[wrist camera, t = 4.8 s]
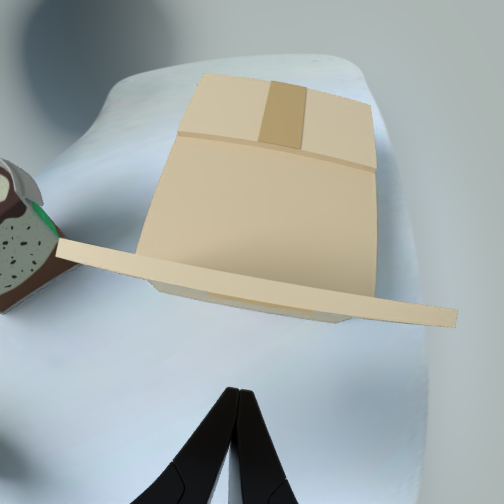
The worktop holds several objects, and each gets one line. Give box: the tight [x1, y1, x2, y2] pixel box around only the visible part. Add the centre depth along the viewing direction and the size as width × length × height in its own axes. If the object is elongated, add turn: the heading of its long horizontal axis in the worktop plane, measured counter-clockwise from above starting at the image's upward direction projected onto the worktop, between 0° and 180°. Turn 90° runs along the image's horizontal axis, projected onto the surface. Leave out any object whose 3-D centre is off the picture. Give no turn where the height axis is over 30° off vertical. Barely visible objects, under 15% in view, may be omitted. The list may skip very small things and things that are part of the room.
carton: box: [135, 73, 377, 323], centre depth 19 cm, size 14×12×7 cm
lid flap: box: [56, 238, 458, 328], centre depth 10 cm, size 7×11×1 cm
